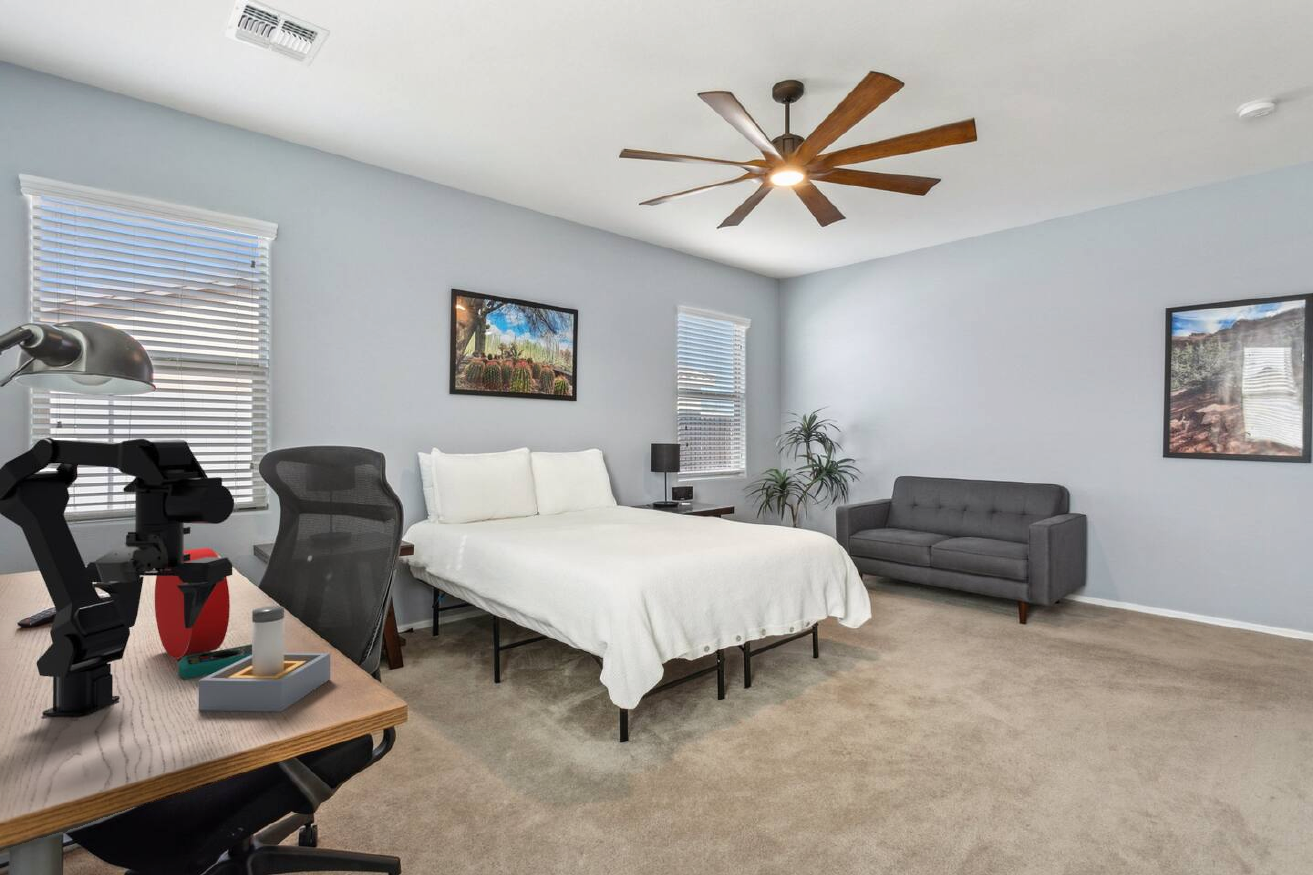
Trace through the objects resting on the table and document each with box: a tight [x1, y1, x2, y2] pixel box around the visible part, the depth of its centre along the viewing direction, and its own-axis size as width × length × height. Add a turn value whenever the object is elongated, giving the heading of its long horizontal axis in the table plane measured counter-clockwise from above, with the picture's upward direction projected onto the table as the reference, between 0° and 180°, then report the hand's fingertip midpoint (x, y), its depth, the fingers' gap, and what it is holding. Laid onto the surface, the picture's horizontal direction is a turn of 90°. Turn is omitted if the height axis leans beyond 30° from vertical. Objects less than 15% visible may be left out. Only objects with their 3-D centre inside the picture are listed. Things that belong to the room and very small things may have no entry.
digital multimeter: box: [177, 643, 252, 680], centre depth 116 cm, size 7×15×3 cm, turn 130°
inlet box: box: [197, 652, 331, 713], centre depth 103 cm, size 13×13×4 cm
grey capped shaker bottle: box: [251, 605, 285, 676], centre depth 103 cm, size 4×4×12 cm
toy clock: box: [154, 547, 231, 660], centre depth 123 cm, size 20×6×20 cm, turn 54°
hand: (159, 627), depth 95 cm, fingers open, 9 cm apart
